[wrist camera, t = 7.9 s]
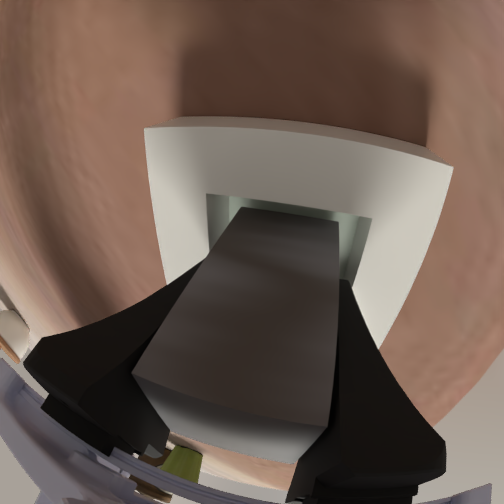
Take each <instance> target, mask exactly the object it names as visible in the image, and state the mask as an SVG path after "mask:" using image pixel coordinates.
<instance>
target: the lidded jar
mask: <svg viewBox="0 0 504 504" xmlns="http://www.w3.org/2000/svg"><path fill="white" fill-rule="evenodd" d="M29 332H30V330H29V328H28V326H27V325H26V323H25V322H24V321H23V319H22V318H21V317H20V316H19V315H18V314H17V313H16V312H15V311H14V310H11V311H10V310H3V311H0V349H1V348H2V349H3V350H4V352H5V353H6V354H7V355H8V356H9V357H10V358H11V359H12V360H13V361H14V362H15V363H17V364H19V362H20V360H21V359H22V357H23V356H24V354H25V352H26V351H27V349H28V346H29V341H30V336H29Z"/></svg>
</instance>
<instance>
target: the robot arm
mask: <svg viewBox="0 0 504 504" xmlns="http://www.w3.org/2000/svg"><path fill="white" fill-rule="evenodd" d="M204 259H205V258H204ZM204 259H203V260H202V261H200V262H199V263H197V264H196V265H195V266H193V267H192V268H191V269H189V270H188V271H186V272H185V273H184V274H182V275H181V276H179V277H178V278H176V279H175V280H174V281H172V282H171V283H169V284H168V285H166V286H165V287H163V288H161V289H160V290H158V291H157V292H155V293H154V294H152V295H150V296H149V297H147V298H146V299H144V300H142V301H140V302H138V303H137V304H135V305H133V306H131V307H129V308H127V309H125V310H123V311H121V312H119V313H117V314H114V315H112V316H110V317H107V318H105V319H103V320H101V321H98V322H96V323H93V324H90V325H87V326H84V327H81V328H78V329H75V330H72V331H68V332H64V333H60V334H56V335H52V336H48V337H42V338H41V340H40V341H39V342H38V343H37V345H36V346H35V347H34V349H33V350H32V351H31V353H30V354H29V355H28V357H27V358H26V359H25V361H24V362H23V365H24V367H25V368H26V370H27V371H28V372H29V373H30V374H31V376H32V377H33V378H34V379H35V380H36V381H37V382H38V383H39V384H40V385H41V386H42V387H43V388H44V389H45V390H46V391H47V392H48V393H49V395H48V397H47V398H46V399H44V398H43V397H42V396H40V395H39V394H38V393H37V392H35V391H34V390H33V389H32V388H31V387H30V386H29V385H28V384H27V383H25V381H24V380H23V379H22V378H21V377H20V376H19V374H17V373H16V371H15V370H14V369H13V368H12V367H10V365H8V363H7V362H6V361H5V360H4V359H3V358H0V435H1V437H2V439H3V440H4V442H5V443H6V445H7V446H8V448H9V449H10V450H11V452H12V453H13V455H14V457H15V458H16V459H17V461H18V462H19V463H20V465H21V466H22V468H23V469H24V470H25V471H26V473H27V474H28V475H29V477H30V478H31V479H32V480H33V481H34V483H35V484H36V485H37V486H38V487H39V489H40V490H41V491H40V493H39V495H38V497H37V499H36V501H35V503H34V504H162V503H160V502H158V501H155V500H153V499H151V498H148V497H146V496H144V495H142V494H139V493H137V492H135V491H134V490H135V489H136V487H137V483H136V482H134V481H132V480H131V479H129V476H130V474H131V475H133V476H135V477H137V478H139V479H141V480H143V481H146V482H148V483H150V484H152V485H154V486H156V487H159V488H161V489H163V490H166V491H168V492H171V493H173V494H176V495H178V496H181V497H184V498H186V499H189V500H192V501H195V502H198V503H201V504H278V503H273V502H266V501H262V500H256V499H252V498H247V497H243V496H239V495H234V494H231V493H227V492H223V491H219V490H216V489H213V488H210V487H206V486H203V485H200V484H197V483H194V482H192V481H189V480H186V479H183V478H181V477H178V476H175V475H173V474H170V473H168V472H166V471H163V470H161V469H159V468H156V467H154V466H152V465H150V464H147V463H145V462H143V461H141V460H139V459H137V458H135V457H134V454H133V453H136V454H138V455H140V456H143V455H144V454H145V455H148V456H150V457H152V458H158V457H161V456H163V454H164V450H165V446H166V443H167V439H168V436H169V432H170V429H169V428H168V426H167V425H166V424H165V422H164V421H163V420H162V418H161V417H160V416H159V414H158V413H157V411H156V410H155V409H154V407H153V406H152V404H151V403H150V401H149V400H148V398H147V397H146V395H145V394H144V392H143V391H142V389H141V388H140V386H139V385H138V383H137V381H136V380H135V378H134V377H133V375H132V371H133V369H134V368H135V366H136V364H137V363H138V361H139V360H140V358H141V356H142V355H143V353H144V351H145V350H146V348H147V347H148V345H149V343H150V342H151V340H152V339H153V337H154V335H155V334H156V332H157V331H158V329H159V328H160V326H161V324H162V323H163V321H164V320H165V318H166V317H167V315H168V314H169V312H170V310H171V309H172V307H173V306H174V304H175V303H176V301H177V300H178V298H179V297H180V295H181V294H182V292H183V291H184V289H185V288H186V286H187V285H188V283H189V282H190V280H191V279H192V277H193V276H194V274H195V273H196V271H197V270H198V268H199V267H200V265H201V264H202V262H203V261H204ZM445 472H446V445H445V441H444V440H443V439H442V438H441V436H439V434H438V433H437V432H436V431H435V430H434V429H433V428H432V427H431V426H430V424H429V423H428V422H427V421H426V420H425V419H424V418H423V416H422V415H421V414H420V413H419V411H418V410H417V409H416V408H415V406H414V405H413V404H412V402H411V401H410V399H409V398H408V397H407V395H406V394H405V392H404V391H403V389H402V388H401V387H400V385H399V384H398V382H397V381H396V379H395V377H394V376H393V374H392V373H391V371H390V369H389V368H388V366H387V364H386V362H385V361H384V359H383V357H382V355H381V353H380V351H379V350H378V348H377V346H376V344H375V342H374V340H373V338H372V336H371V333H370V331H369V329H368V327H367V325H366V322H365V320H364V318H363V316H362V313H361V311H360V308H359V306H358V303H357V301H356V298H355V295H354V293H353V290H352V287H351V284H350V282H349V281H348V280H344V279H339V309H338V330H337V345H336V358H335V369H334V379H333V389H332V397H331V405H330V413H329V420H328V427H327V428H326V429H325V430H324V431H323V433H322V434H321V435H320V436H319V437H318V438H317V439H316V441H315V442H314V443H313V444H312V445H311V446H310V447H309V448H308V449H307V450H306V452H305V453H304V454H303V455H302V456H301V457H300V458H299V459H298V463H297V466H296V469H295V473H294V476H293V479H292V482H291V485H290V488H289V491H288V494H287V498H286V501H285V503H288V504H412V496H415V495H417V493H418V485H420V484H423V483H425V482H428V481H431V480H433V479H435V478H438V477H440V476H442V475H443V474H444V473H445ZM491 489H492V484H490V483H489V484H486V485H484V486H481V487H477V488H474V489H471V490H468V491H465V492H462V493H459V494H456V495H453V496H452V497H448V498H443V499H439V500H434V501H429V502H424V503H418V504H491Z"/></svg>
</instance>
